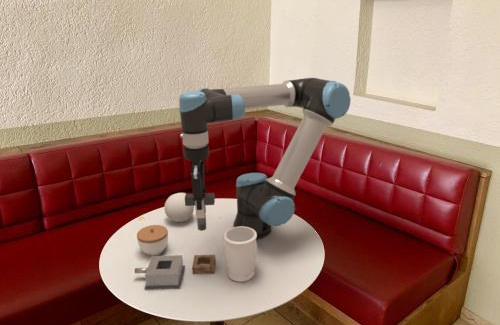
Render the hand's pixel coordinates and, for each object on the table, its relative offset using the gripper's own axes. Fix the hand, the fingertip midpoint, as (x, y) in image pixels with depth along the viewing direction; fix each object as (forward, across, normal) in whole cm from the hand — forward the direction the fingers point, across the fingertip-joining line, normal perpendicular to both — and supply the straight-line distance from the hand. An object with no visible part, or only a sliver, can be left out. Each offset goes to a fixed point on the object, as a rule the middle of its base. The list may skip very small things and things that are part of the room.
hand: (201, 214), depth 120 cm
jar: (+20, +4, +12) cm, 24 cm away
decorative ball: (+20, -33, -13) cm, 41 cm away
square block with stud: (+20, +5, -14) cm, 25 cm away
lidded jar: (+20, -10, -19) cm, 30 cm away
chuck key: (+5, 0, 0) cm, 5 cm away
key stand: (+20, 0, 0) cm, 20 cm away
